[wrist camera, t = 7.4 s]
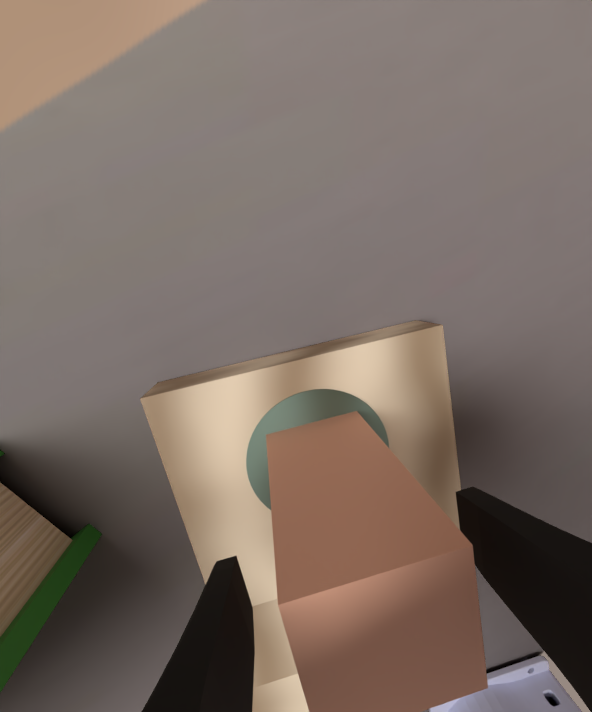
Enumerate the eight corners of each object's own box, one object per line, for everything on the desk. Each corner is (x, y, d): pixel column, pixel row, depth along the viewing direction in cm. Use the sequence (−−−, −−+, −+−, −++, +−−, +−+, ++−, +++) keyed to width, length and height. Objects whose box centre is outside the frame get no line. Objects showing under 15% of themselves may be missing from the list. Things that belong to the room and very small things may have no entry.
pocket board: (415, 320, 17) (443, 324, 14) (455, 626, 22) (482, 670, 19) (158, 382, 16) (139, 399, 13) (260, 690, 20) (261, 745, 18)
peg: (356, 410, 15) (472, 545, 7) (371, 490, 15) (488, 687, 8) (265, 434, 14) (277, 605, 6) (287, 514, 15) (319, 746, 7)
